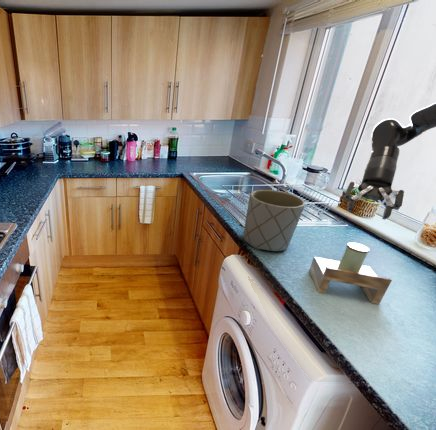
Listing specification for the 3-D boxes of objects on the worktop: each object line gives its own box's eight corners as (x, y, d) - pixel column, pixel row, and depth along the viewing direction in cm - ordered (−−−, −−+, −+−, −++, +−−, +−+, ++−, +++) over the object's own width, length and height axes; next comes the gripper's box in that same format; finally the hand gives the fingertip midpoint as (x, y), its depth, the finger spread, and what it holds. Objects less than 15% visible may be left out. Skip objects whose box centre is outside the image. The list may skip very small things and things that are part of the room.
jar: (354, 268, 93) (365, 244, 89) (361, 277, 88) (373, 253, 84) (334, 264, 94) (344, 240, 90) (340, 274, 89) (350, 249, 86)
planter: (276, 232, 127) (288, 190, 119) (300, 255, 110) (316, 208, 102) (233, 231, 128) (242, 188, 119) (250, 254, 110) (262, 206, 102)
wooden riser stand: (363, 281, 96) (373, 258, 92) (379, 304, 86) (392, 280, 82) (308, 270, 101) (316, 249, 97) (318, 291, 91) (327, 268, 87)
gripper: (355, 163, 97) (342, 204, 93) (413, 170, 89) (401, 215, 85) (350, 174, 103) (337, 213, 99) (403, 182, 95) (392, 225, 91)
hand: (367, 214), depth 92 cm, fingers open, 8 cm apart
